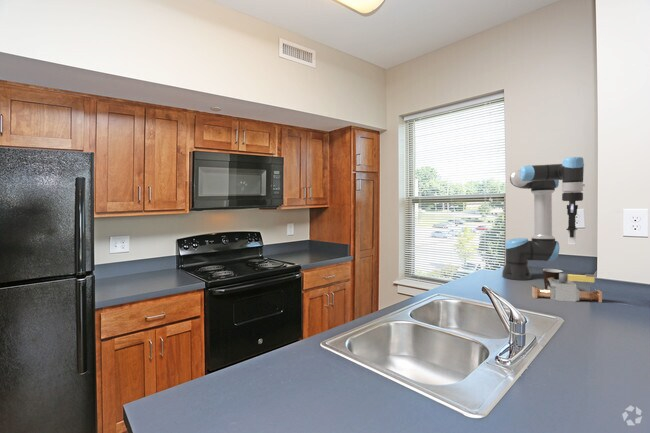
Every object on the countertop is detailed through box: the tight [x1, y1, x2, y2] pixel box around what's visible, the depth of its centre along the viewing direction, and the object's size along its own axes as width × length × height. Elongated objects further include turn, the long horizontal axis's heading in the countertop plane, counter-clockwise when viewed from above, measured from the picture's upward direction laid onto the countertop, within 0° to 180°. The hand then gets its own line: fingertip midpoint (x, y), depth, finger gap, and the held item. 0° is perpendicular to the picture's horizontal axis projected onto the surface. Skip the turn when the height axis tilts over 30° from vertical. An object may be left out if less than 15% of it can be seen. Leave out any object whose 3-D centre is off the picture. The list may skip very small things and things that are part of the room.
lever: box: [559, 272, 596, 283], centre depth 154 cm, size 13×3×4 cm, turn 64°
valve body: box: [531, 279, 603, 303], centre depth 156 cm, size 8×26×8 cm, turn 70°
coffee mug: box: [542, 268, 564, 289], centre depth 170 cm, size 12×9×10 cm
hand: (571, 244), depth 150 cm, fingers closed
